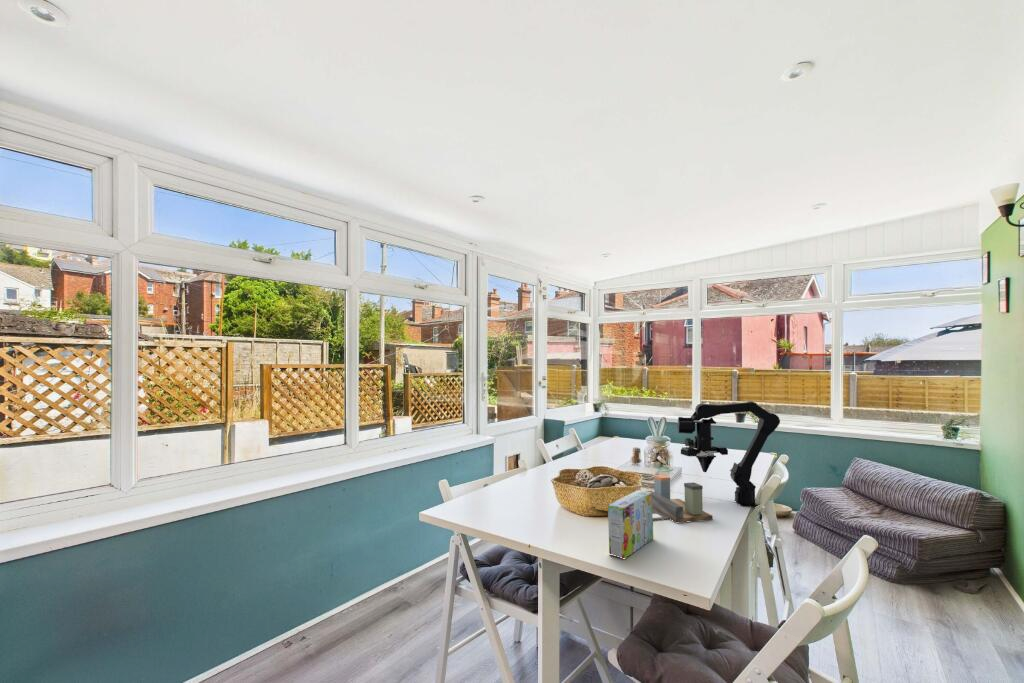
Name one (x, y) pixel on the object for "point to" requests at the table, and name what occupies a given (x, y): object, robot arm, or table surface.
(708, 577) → the table surface
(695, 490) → the tall green block
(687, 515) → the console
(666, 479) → the orange-capped grey pillar
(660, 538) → the table surface
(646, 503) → the snack box
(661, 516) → the card
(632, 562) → the table surface
